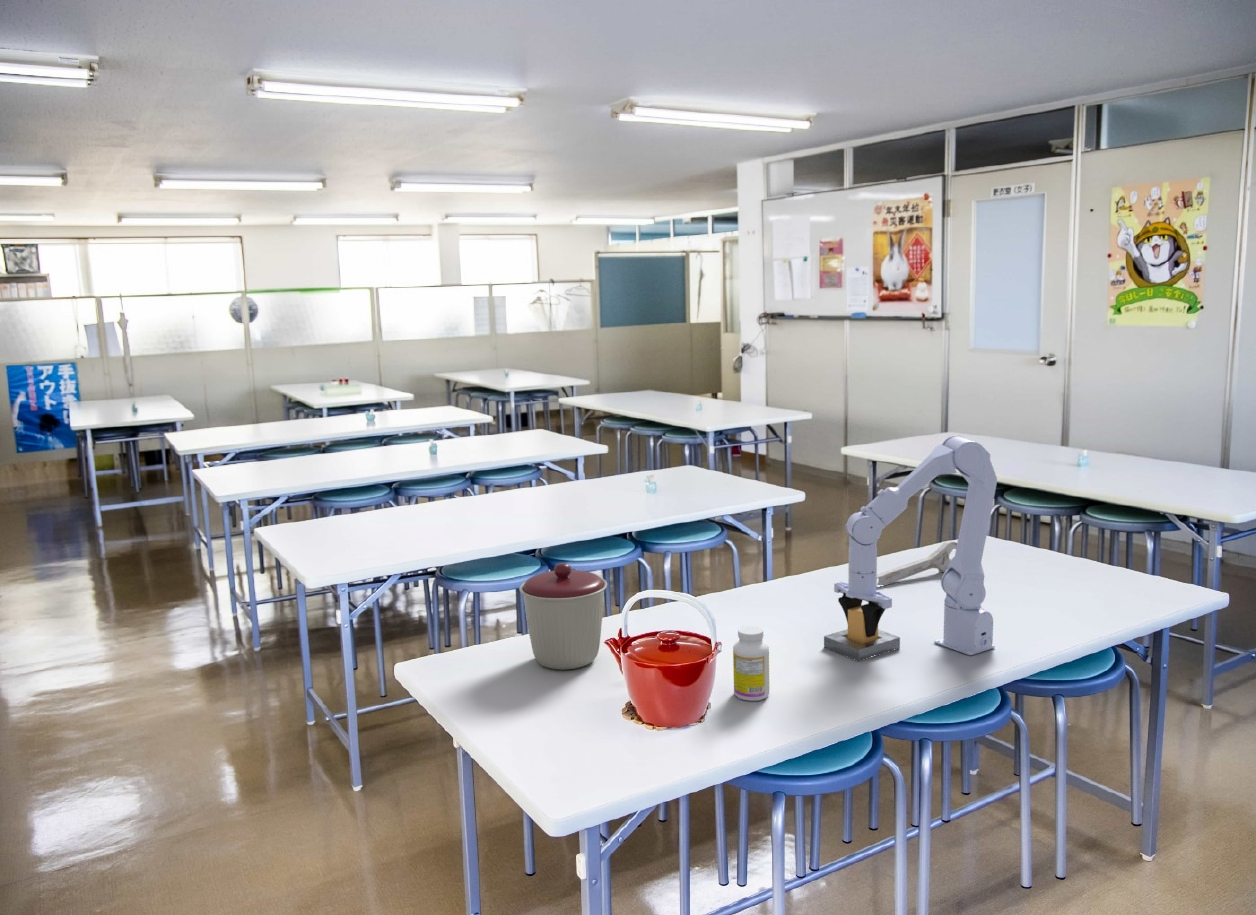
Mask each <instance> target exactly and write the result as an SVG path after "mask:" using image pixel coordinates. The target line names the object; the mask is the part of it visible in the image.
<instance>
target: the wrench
mask: <svg viewBox="0 0 1256 915" xmlns="http://www.w3.org/2000/svg"><path fill="white" fill-rule="evenodd" d="M956 548H957V542H955V541H953V540H947V541H945V542H943V543H942V544H941V545H940V546H938V548H937V549H936V550H934V551H933V552H931V554H929V555H928V556H927V557H924V558H921V559H919V560H916V561H913V562H908V563H907V564H904V565H900V566H898V567H894V568H892V569H889V570H887V571H884V572H880V573H878V574H877V580H878V581H877V585H886V586H888V585H890V584H893V583H896V582H899V581H902V580H903V579H906V578H909V577H911V576H914V575H917V574H920V573H922V572H925V571H928V570H931V569H937V570H938V573H939V574H944V573H945V572H946V570H947V569H948V566H949V562H950V560H951V559H952V558H950V554H951V553H952V552H953V550H956ZM942 572H943V573H942Z"/></svg>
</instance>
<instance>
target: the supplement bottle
mask: <svg viewBox="0 0 1256 915" xmlns="http://www.w3.org/2000/svg"><path fill="white" fill-rule="evenodd" d="M737 637H738V639H739V640H737V641H736V642H735V643H734V644H733V648H732V649H733V651H732V654H733V656H732V658H733V660H732V661H733V693H734V695H735V697H737V698H738V699H740V700H742V701H746V702H747V701H748V702H759V701H762V700H764V699H766V698H768V697H769V695H770V648H769V644H768V643H767V642H766V641H765V640H764V639H763V638H764V629H763V628H762V627H759V626H754V625H747V626H741V627H739V628H738V629H737Z"/></svg>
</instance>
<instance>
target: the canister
mask: <svg viewBox="0 0 1256 915" xmlns="http://www.w3.org/2000/svg"><path fill="white" fill-rule="evenodd" d="M607 588H608V582H607V580H606V579H604V578H603V577H601V576H599V575H597V574H596V573H592V572H590V571H586V570H581V569H580V570H578V569H577V570H576V569H572V567H571V565H570V564H569V563H566V562H559V563H557V564H556V565H555V566H554V568H553V570H551V571H545V572H541V573H538V574H535V575H533V576H530V577H529V578H528V579H527V580H525V581H524V582H522V583H521V584H520V586H519V587H518V589H519V592H520V593H521V595H522V596H523V602H524V603H523V604H524V611H525V616H526V623H527V629H528V635H529V639H530V640H529V641H530V643H531V649H532V653H533V656H534V658H535V660H536V661H537V662H538V664H540V666H542V667H545V668H549V669H553V670H557V671H559V670H563V671H564V670H567V671H568V670H576V669H578V668H579V669H580V668H583V667H585V666H588V665H590V664H591V663H593V661H595V659H596V658H597V657H598V654H599V650H600V645H601V644H600V643H601V635H602V624H603V614H604V613H603V612H604V610H603V609H604V598H605V596H604V595H605V590H606V589H607Z"/></svg>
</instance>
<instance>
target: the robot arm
mask: <svg viewBox="0 0 1256 915" xmlns="http://www.w3.org/2000/svg"><path fill="white" fill-rule="evenodd" d="M957 471H958V472H957ZM957 473H960V475H961V476H962V477H963V478H964V480H965V481H966V482H967V483H968V486H967V491H966V497H965V500H964V508H963V512H962V518H961V522H960V527H959V532H958V537H957V538H958V539H957V542H956V543H957V548H956V549H955V553H954V556H953V557H952V558H950V559H951V560H950V562H949V566H948V569H947V570H946V572H945V573H942V577H941V579H940V586H941V588H942V590H943V592H944V593H945V595H946V596H945V598H944V606H943V607H944V611H943V637H940V638H938V639H935V640H934V641H933V642H934V643H935V644H937V645H940V646H942V647H946V648H947V649H951V650H954V651H957V652H959V653H961V654H965V655H967V656H973V655H977V654H979V653H982V652H985V651H986V652H987V651H988V650H992V649H995V648H996V646H995V644H993V640H994V638H993V636H994V618H993V614H992V613H991V612H989V611H988V610H985V609H984V608H983V607H982V603H983V602H984V601H985V600H986V599H985V598H986V588H985V583H984V582H985V573H984V568H983V564H982V559H983V554H984V551H985V550H984V549H985V544H986V540H987V534H988V530H989V524H990V520H991V515H992V514H991V513H992V509H993V505H994V498H995V493H996V489H997V483H998V477H997V475H996V472H995V468H994V466H993V463H992V461H991V454H990V452H989V451H988V450H987V449H986V448H985V447H984V446H983V445H982V444H981V443H979V442H977V441H972V440H970V439H968V438H966V437H964V436H962V435H954V434H953V435H951V436H948V437H946V438H945V439H944V441H943V442H942V443H939V444H938V445H937V446H935V447H934V448H933V450H932V451H931V453H929V455H928V456H927V457H926V458H925V459H924V460H922V461H921V463H920V464H918V466H916V467H915V468H914V469H913V470H912V471H911V472H910V473H909V474H908V475H907V476H906V477H905V478H904V479H903V480H902V481H901V482H900V483H899V484H898V485H897V486H896V487H891V486H888V487H886V488H885V489H882V488H881V489H879V491H877V493H876V494H877V496H876V497H875V498H874V499H873V500H871V501H870V502H869V503H868V504H867V505H866V506H864V505H863V506H861V507H860V511H858V512H854V513H852V514H851V515H850V516H849V517H848V519H847V522H846V524H845V525H844V526H845V531H846V532H847V534H848V535H849V537H848V539H849V540H848V582H843V581H839V582H834V587H833V591H834V592H833V593H837V594H839V593H840V594H842V596H840V597H838V599H837V600H838V601H837V602H838V603H839V605H840V606H841V609H842V610H843V612H844V615H845V619H846V623H847V624H848V609H851V608H855V607H859V606H861V609H862V612H863V615H864V621H865V632H866V637H871V636H875V633H876V630H877V626H878V627H879V623H880V621H881V617H882V616H883V614H884V612H885V611H886V610H888V609H890V608H892V607H893V598H892V597H889V596H888V595H886V594H884V593H882V592H881V591H879V590H877V588H876V587H877V583H878V581H877V580H878V578H877V573H878V572H877V571H878V567H877V566H878V548H877V544H878V542H877V541H878V540H880V537H881V535H882V531H883V529H885V528H886V527H887V526H889V524H890V523H891V522H893V521H894V520H895V519H896V518H897V517H898V516H899V515H901V514H902V513H903V512H904V511H905V510H907V509H908V504H909V499H910V498H912V497H913V496H914V495H915V494H916V493H917V492H919V491H920V490H922V489H923V488H924V487H925V486H926V485H928V484H929V483H930V482H931V481H933V480H934V479H935V478H936V477H938V476H940V475H950V474H957ZM863 601H865V602H867V603H866V604H862V603H863Z"/></svg>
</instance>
